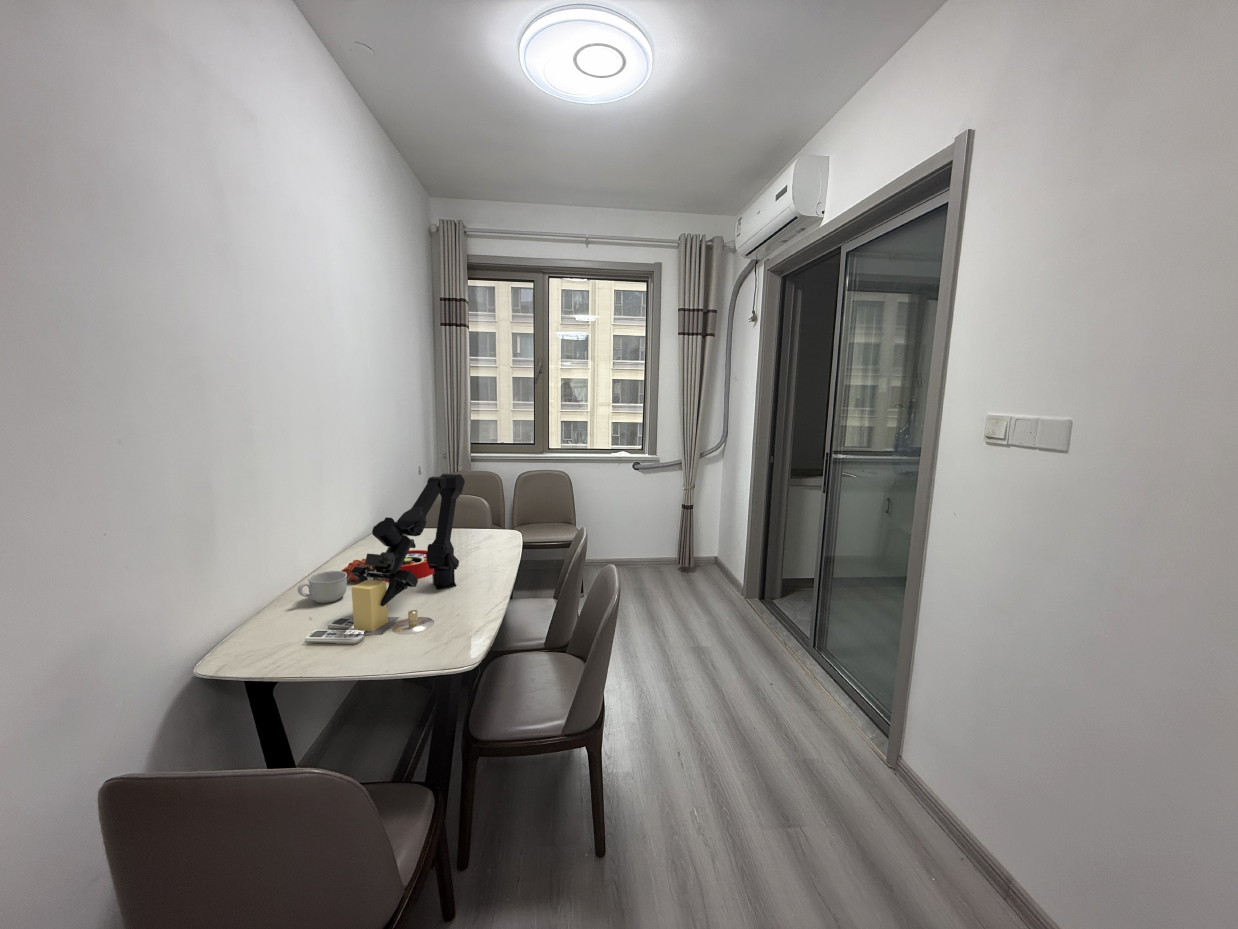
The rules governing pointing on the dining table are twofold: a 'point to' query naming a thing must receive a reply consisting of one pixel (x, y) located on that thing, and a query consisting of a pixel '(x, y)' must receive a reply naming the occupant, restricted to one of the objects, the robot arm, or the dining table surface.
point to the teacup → (325, 586)
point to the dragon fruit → (352, 565)
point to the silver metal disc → (413, 624)
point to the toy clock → (416, 564)
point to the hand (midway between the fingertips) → (370, 604)
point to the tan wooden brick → (369, 605)
